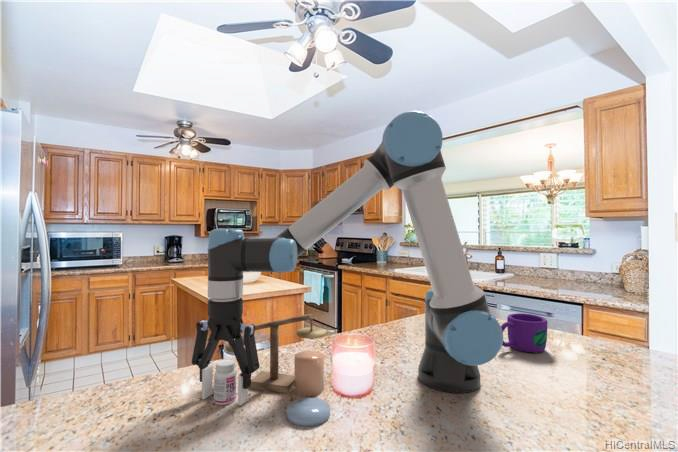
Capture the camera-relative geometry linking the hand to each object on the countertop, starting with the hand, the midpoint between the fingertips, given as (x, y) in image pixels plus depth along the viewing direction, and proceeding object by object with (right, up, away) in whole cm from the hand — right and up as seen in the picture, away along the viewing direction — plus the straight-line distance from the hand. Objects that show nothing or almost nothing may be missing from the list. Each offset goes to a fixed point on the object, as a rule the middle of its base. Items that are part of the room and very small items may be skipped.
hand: (224, 399), depth 78 cm
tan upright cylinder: (+18, 0, +6) cm, 19 cm away
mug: (+83, -1, +34) cm, 90 cm away
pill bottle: (0, 0, 0) cm, 0 cm away
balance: (+10, 0, +8) cm, 12 cm away
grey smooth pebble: (+19, 0, -6) cm, 20 cm away
